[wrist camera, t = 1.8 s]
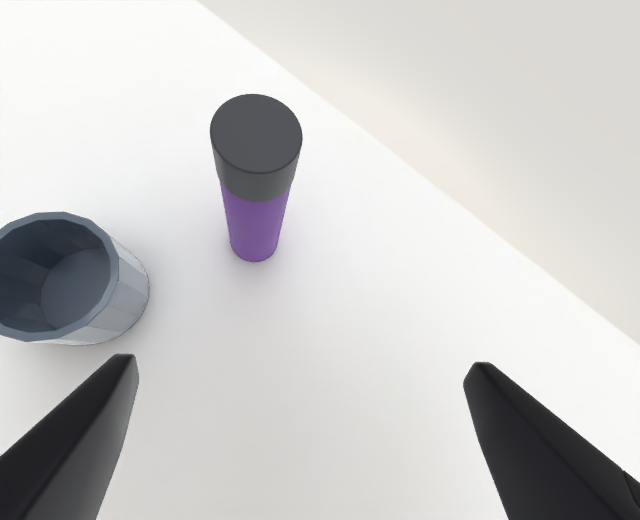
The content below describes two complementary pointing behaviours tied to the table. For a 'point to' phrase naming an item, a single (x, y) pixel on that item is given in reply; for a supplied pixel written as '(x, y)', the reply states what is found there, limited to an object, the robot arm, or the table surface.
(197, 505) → the table surface
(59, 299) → the pen holder
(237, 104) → the glue stick
